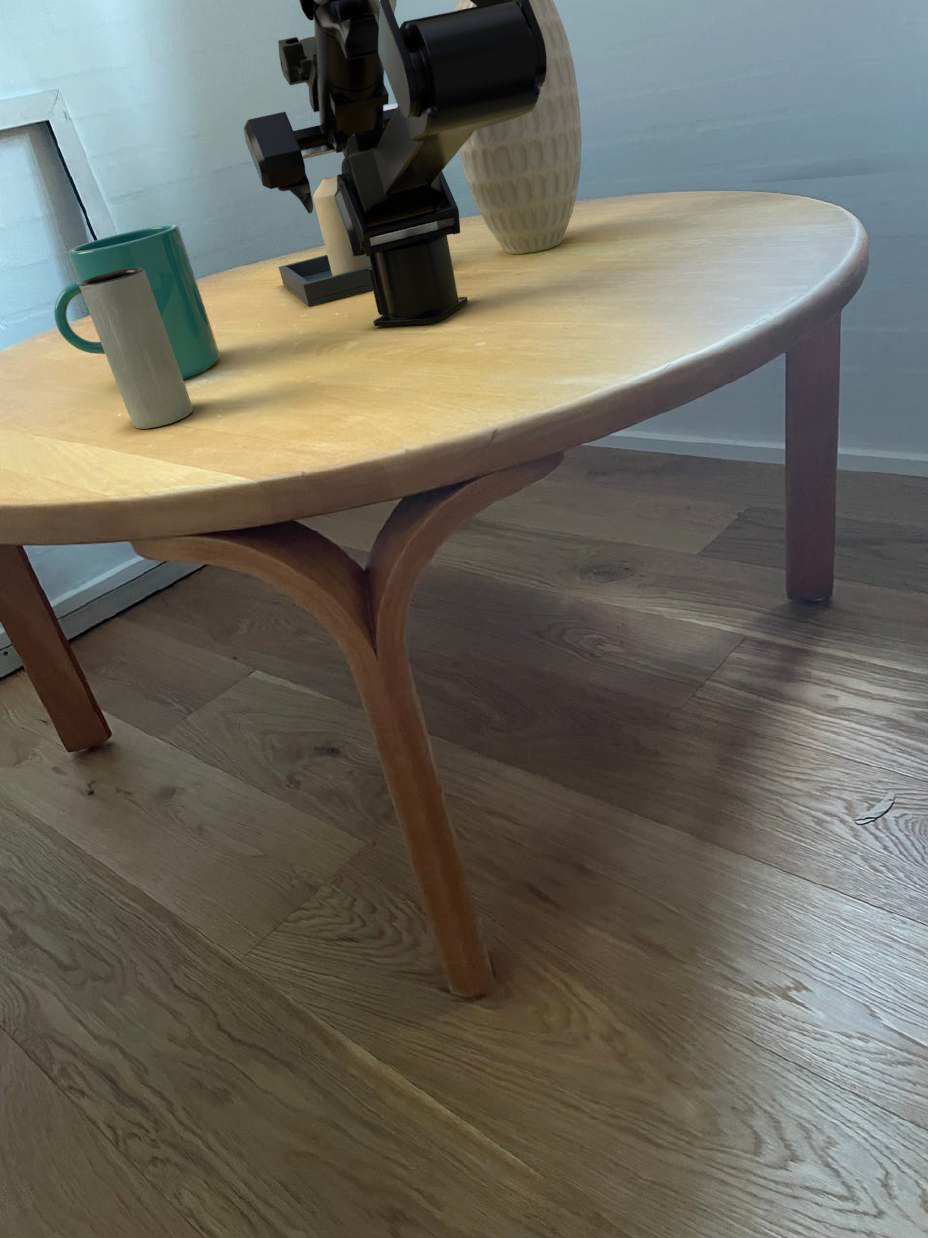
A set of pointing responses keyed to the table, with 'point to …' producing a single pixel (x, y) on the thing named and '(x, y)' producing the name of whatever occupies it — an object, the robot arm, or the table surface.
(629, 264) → the table surface
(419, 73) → the robot arm
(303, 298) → the tray
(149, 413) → the planter
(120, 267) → the cup
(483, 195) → the vase
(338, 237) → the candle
